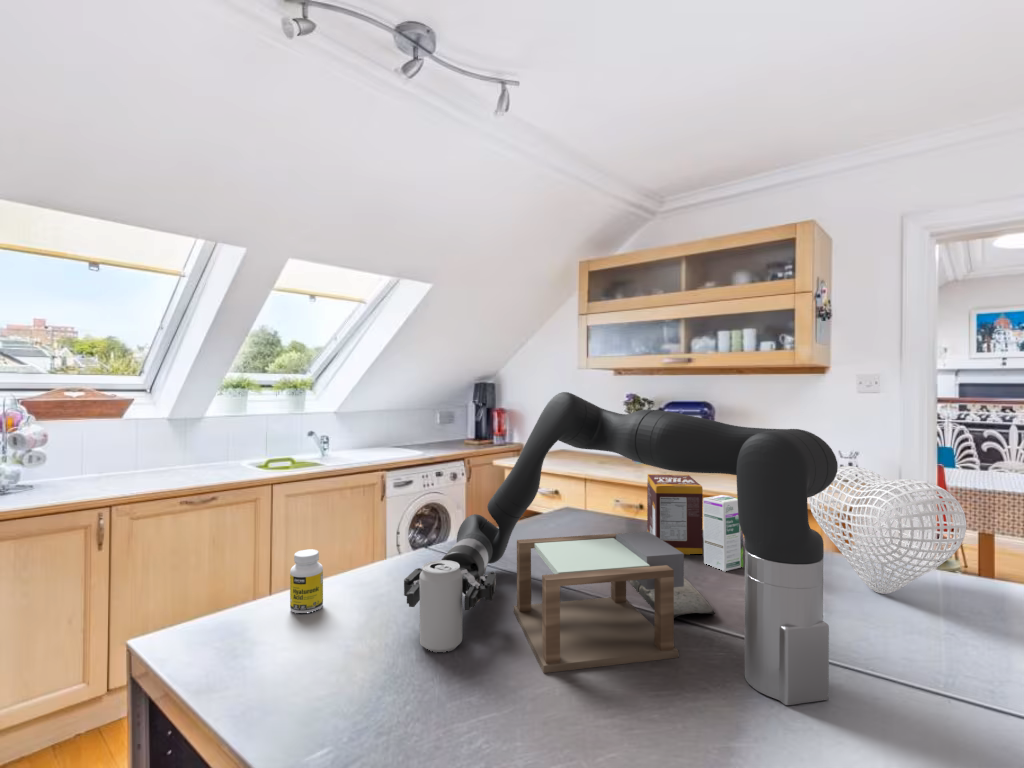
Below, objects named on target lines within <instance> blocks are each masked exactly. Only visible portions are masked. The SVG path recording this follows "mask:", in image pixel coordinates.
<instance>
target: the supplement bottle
mask: <svg viewBox="0 0 1024 768" xmlns="http://www.w3.org/2000/svg"><path fill="white" fill-rule="evenodd" d="M319 552H320V551H318V550H317V549H313V548H311V549H301V550H297V551H296V552H295V553H294V555H293V557H294V558H293V559H294V560H293V561H294V565H292V567H291V568H290V570H289V571H290V574H289V583H290V584H289V598H290V599H289V602H290V603H289V606H290V607H289V608H290V611H291V613H293V612H295V613H294V614H296V613H307V612H312V611H315V612H317V611H316V610H318V609H319V610H321V609H322V608H323V606H324V566H323V564H321V563H320V562H319V560H320V559H319V557H320V553H319ZM319 610H318V611H319ZM312 613H313V612H312ZM307 614H308V613H307Z"/></svg>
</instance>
